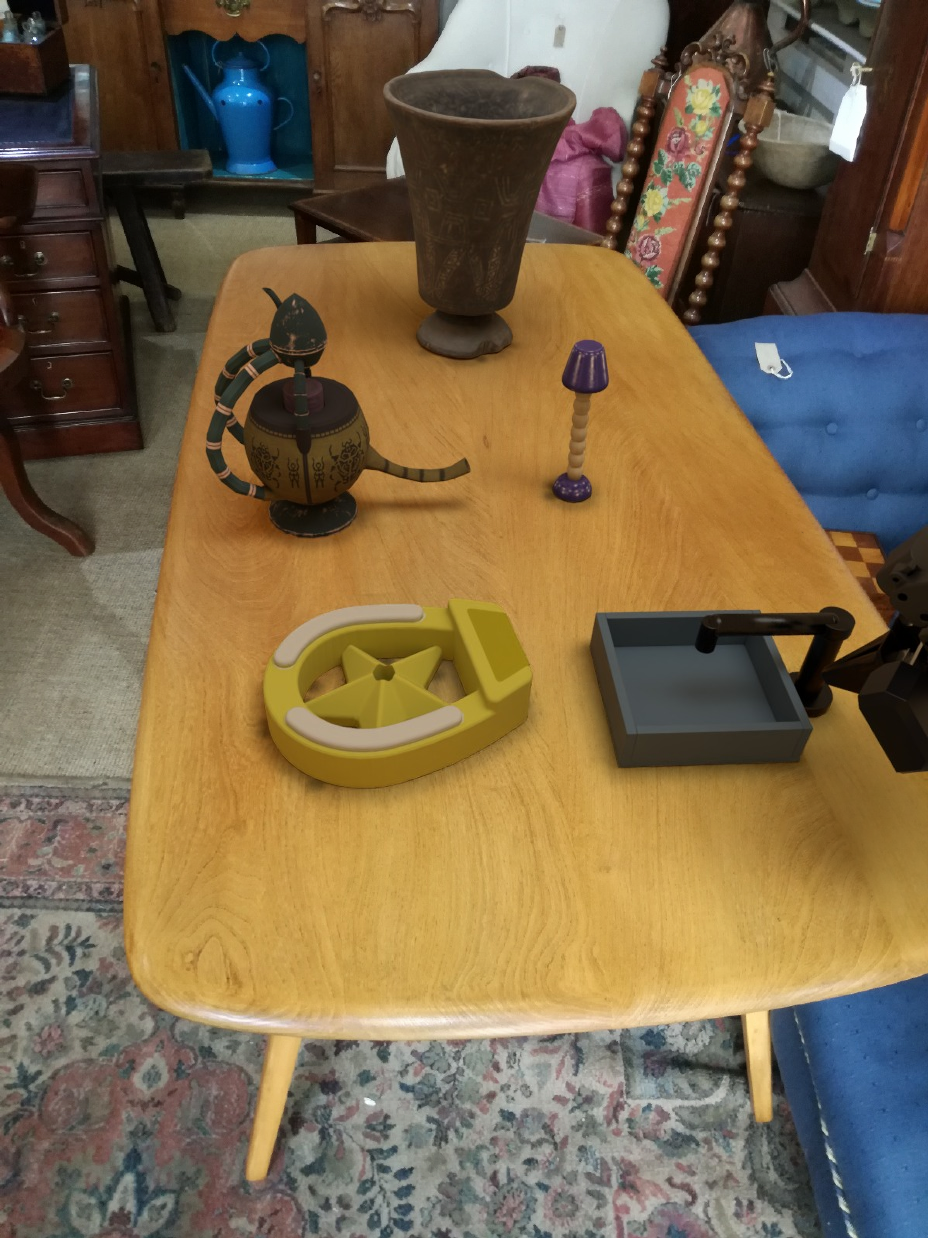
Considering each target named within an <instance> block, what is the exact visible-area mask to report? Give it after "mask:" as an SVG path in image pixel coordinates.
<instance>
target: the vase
mask: <svg viewBox="0 0 928 1238" xmlns="http://www.w3.org/2000/svg"><path fill="white" fill-rule="evenodd" d="M382 98H383V101H384V104H385V107H386V110H387V114H388V116H389V119H390V121H391V124H392V127H393V130H394V133H395V137H396V140H397V145H398V150H399V154H400V159H401V163H402V166H403V173H404V176H405V182H406V185H407V191H408V197H409V206H410V211H411V217H412V225H413V233H414V246H415V257H416V275H417V276H416V277H417V287H418V289H417V290H418V295H419V297H420V299H421V300H422V301H423V302H424V303H425V304H426V305H428V306H429V307H431V308H432V309H435V310H434V311H433V312H432V313H430V314H429V315H427V316H426V317H425V318H424V319H423V320H422V321H421V322H420V324H419V326H418V330H417V332H416V339H417V341H418V343H419V344H420V345H421V346H422V347H424V348H426V349H428V350H429V351H431V352H433V353H435V354H439V355H441V356H444V357H450V358H455V359H456V358H457V359H473V358H476V357H478V356H482V355H485V354H491V353H497V352H501V351H502V350H503V349H504V348H506V347H508V346H509V345H510V344H511V343H513V339H514V335H513V331H512V329H511V327H510V325H509V323H508V322H507V321H506V320H505V319H504V318H503V317H502V316H501V315H500V314H499V313H497V312H498V311H499V312H500V311H501V310H504V309H505V308H507V307H508V306H509V305H510V304H511V303H512V302H513V299H514V297H515V292H516V289H517V284H518V279H519V275H520V270H521V265H522V259H523V255H524V250H525V247H526V244H527V243H526V242H527V238H528V235H529V231H530V227H531V224H532V223H531V222H532V218H533V214H534V211H535V209H536V205H537V202H538V199H539V195H540V192H541V188H542V185H543V183H544V181H545V178H546V175H547V172H548V170H549V167H550V165H551V163H552V160H553V157H554V155H555V152H556V149H557V147H558V144H559V142H560V140H561V137H562V135H563V133H564V132H565V130H566V128H567V127H568V125H569V123H570V121H571V118H572V116H573V114H574V113H575V110H576V107H577V95H576V94H575V92H574V91H573V90H572V89H571V88H569V87H567V86H566V85H564V84H562V83H560V82H558V81H556V80H553V79H551V78H547V77H543V76H536V75H528V76H524V77H520V78H514V79H513V78H511V77H510V78H509V77H506V76H503V75H502V74H499V73H498V72H496V71H495V70H491V69H485V68H456V69H455V68H454V69H447V68H446V69H445V68H444V69H438V70H437V69H436V70H424V71H417V72H409V73H405V74H401V75H398V76H395V77H393V78H391V79H389V81H386V83H385V84H384V86H383V89H382Z"/></svg>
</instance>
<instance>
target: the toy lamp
mask: <svg viewBox="0 0 928 1238" xmlns="http://www.w3.org/2000/svg"><path fill="white" fill-rule="evenodd" d="M607 361H608V360H607V355H606V348H605V346H604V345H603V344H602V343H601V342H600V341H598V340H595V339H581V340H578V341H576V342H575V343H574V345H573V347H572V348H571V350H570V354H569V356H568V358H567V361H566V364H565V366H564V369H563V371H562V374H561V383H562V386H563V387H565V388H566V389H567V390H569V391H571V392H574V396H575V398H574V400H573V405H572V407H573V413H572V416H571V423H572V425H571V427H570V431H569V435H570V439H569V443H568V449H569V452H568V456H567V461H568V465H567V467H566V472H563V473H561V474H560V475H558V476H557V477H556V479H555V480H554V482H553V484H552V492H553V494H554V496H556V497H557V498H558V499H560V500H561V501H565V502H570V503H576V502H582V501H585V500H587V499H589V498H590V497H591V496H592V493H593V486H592V483H591V481H590V479H589V478H588V477H587V476H586V475H585V474H583V473H584V466H583V465H584V463H585V451H586V448H587V441H586V438H587V436H588V427H587V426H588V423H589V420H590V416H589V412H590V409H591V405H592V403H591V397H592V395H594V394H598V393H601V392H603V391H604V390H606V389H607V388H608V386H609V383H610V376H609V375H610V374H609V369H608V368H609V367H608V362H607Z"/></svg>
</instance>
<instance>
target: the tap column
mask: <svg viewBox="0 0 928 1238" xmlns="http://www.w3.org/2000/svg"><path fill="white" fill-rule="evenodd" d="M843 644H844V641H833V640H829V639H827V638H825V637H823V636H821V635H813V637H812V640H811V641H810V644H809V647H808V649H807V651H806V654H805V657H804V658H803V661H802V664H801V666H800V669H799V671H791V672H788V673H789V675H790V677H791V680H792V682H793V684H794V686H795V689H796V691H797V693H798V695H799V697H800V700H801V702H802V704H803V706H804V709H805V711H806V713H807V715H808V718H815V717H816V718H817V717H820V716H822V715H824V714H825V713H827V712H828V710H829V709H830V706H831V704H832V702H833V700H834V694H833V691H832V688H831V686H830V685H827V684H826V683H825V682H824V680H823V678H822V677H821V672H822V670H823V669H824V667H825V666H827V665H829V664H831V663H833V662H834V661H836V660H837V657H838V654H839V652H840V649H841V648H842V646H843Z"/></svg>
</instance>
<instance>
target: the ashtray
mask: <svg viewBox="0 0 928 1238" xmlns="http://www.w3.org/2000/svg"><path fill="white" fill-rule="evenodd" d="M393 658H394V659H395V658H396V659H397V658H401V659H399V660H397V661H395V662H392V663H390V664H385V663H383V662H382V661H380V660H379V659H393ZM443 660H445V661H446V660H447V661H452V662H453V665H454V667H455V671H456V672H457V675H458V678H459V681H460V683H461V685H462V688H463V690H464V693H465V696H464V697H462V698H460V699H458V700H456V701H455V702H451V703H448V702H447V701H445V700H444V699H442V698H440V697H438V696H437V695H435V694H434V693H432V692H430V691H429V690H428V688H429V686H430V684H431V682H432V680H433V679H434V677H435V675H436V673H437V671H438V669H439V667H440V665H441V663H442V661H443ZM529 661H530V660H529V659H528V657H527V655H526V653H525V650H524V648H523V647H522V644H521V641H520V639H519V638H518V635H517V634H516V631H515V629H514V627H513V625H512V623H511V620H510V619H509V616H508V615H507V613H506V612H505V611H504V609H503V608H502V607H501V606H500V605H499V604H497V603H495V602H491V601H490V602H489V601H482V600H481V601H480V600H474V599H466V598H461V597H459V598H458V597H452V598H450V599H449V600H448V601H447V607H444V606H443V607H442V606H427V605H418V604H416V603H384V604H382V603H381V604H380V603H379V604H366V605H355V606H354V605H353V606H347V607H343V608H342V607H341V608H338V609H334V610H330V611H327V612H324V613H322V614H319V615H317V616H315V617H312V618H311V619H308V620H307V621H305V622H303V623H302V624H301V625H299V626H298V627H296V628H295V629H293V631H292V632H290V633H289V634H288V635H287V636H286V637H285V638H284V639H283V640H282V641H281V642H280V644H279V645H277V647H276V648H275V649H274V651H273V652H272V654H271V656H270V658H269V660H268V662H267V663H266V666H265V670H264V672H263V678H262V693H263V702H264V707H265V715H266V719H267V726H268V729H269V730H268V731H269V734H270V736H271V739H272V741H273V743H274V745H275V746H276V749H277V750H278V751H279V753H280V754H281V755H282V756H283V757H284V758H285V759H286V761H287V762H289V764H291V765H292V766H293V767H295V768H296V769H297V770H298V771H301V772H302V773H304V774H305V775H307V776H309V777H311V778H314V779H315V780H318V781H320V782H323V783H327V784H330V785H334V786H338V787H346V788H353V789H372V788H373V789H375V788H384V787H388V786H389V787H390V786H394V785H398V784H401V783H405V782H408V781H412V780H414V779H417V778H420V777H423V776H426V775H428V774H431V773H435V772H436V771H440V770H442V769H444V768H447V767H449V766H451V765H453V764H456V763H458V762H460V761H462V760H465V759H467V758H468V757H471V756H473V755H474V754H476V753H479V751H482V750H484V749H485V748H487V747H489V746H491V745H492V744H493V743H495V742H497V741H498V740H500V739H502V738H503V737H505V736H506V735H507V734H509V733H510V732H512V731H514V729H516V728H518V727H519V726H520V725H522V724H524V723H525V722H526V721H527V719H528V715H529V707H530V700H531V693H532V686H533V677H534V676H533V675H534V673H533V670H532V668H531V667H530V666H531V663H530V662H529ZM338 666H341V667H342V672H343V675H344V679H345V682H346V683H345V684H344V685H341V686H339V687H337V688H335V689H332V690H330V691H328V692H326V693H324V694H322V695H319V696H317V697H315V698H313V699H311V700H308V701H306V702H304V699H305V697H306V694H307V692H308V691H309V689H310V688H311V686H312V685H313V684H314V683H315V682H316V681H317V680H318V679H319V678H320V677H321V676H322V675H324V674H325V673H326V672H329V671H330V670H332V669H333V668H336V667H338Z"/></svg>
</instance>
